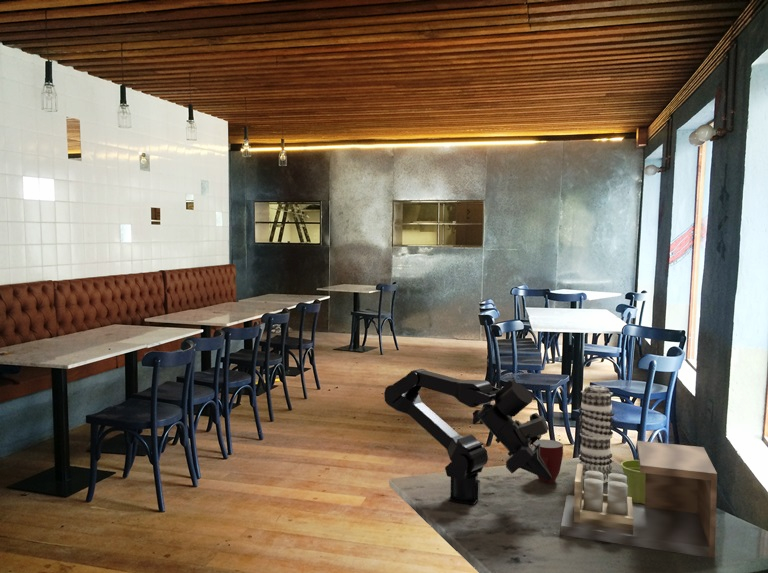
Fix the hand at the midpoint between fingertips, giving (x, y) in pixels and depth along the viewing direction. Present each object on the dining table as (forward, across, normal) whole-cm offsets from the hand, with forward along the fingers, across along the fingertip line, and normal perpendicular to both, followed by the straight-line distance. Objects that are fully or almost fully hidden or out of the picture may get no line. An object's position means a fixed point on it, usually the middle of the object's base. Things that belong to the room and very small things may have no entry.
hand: (550, 478), depth 143 cm
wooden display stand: (+19, 0, -6) cm, 20 cm away
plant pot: (+20, +18, -8) cm, 29 cm away
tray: (+13, 0, -3) cm, 14 cm away
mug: (+4, +23, +9) cm, 25 cm away
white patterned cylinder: (+13, +31, 0) cm, 34 cm away
